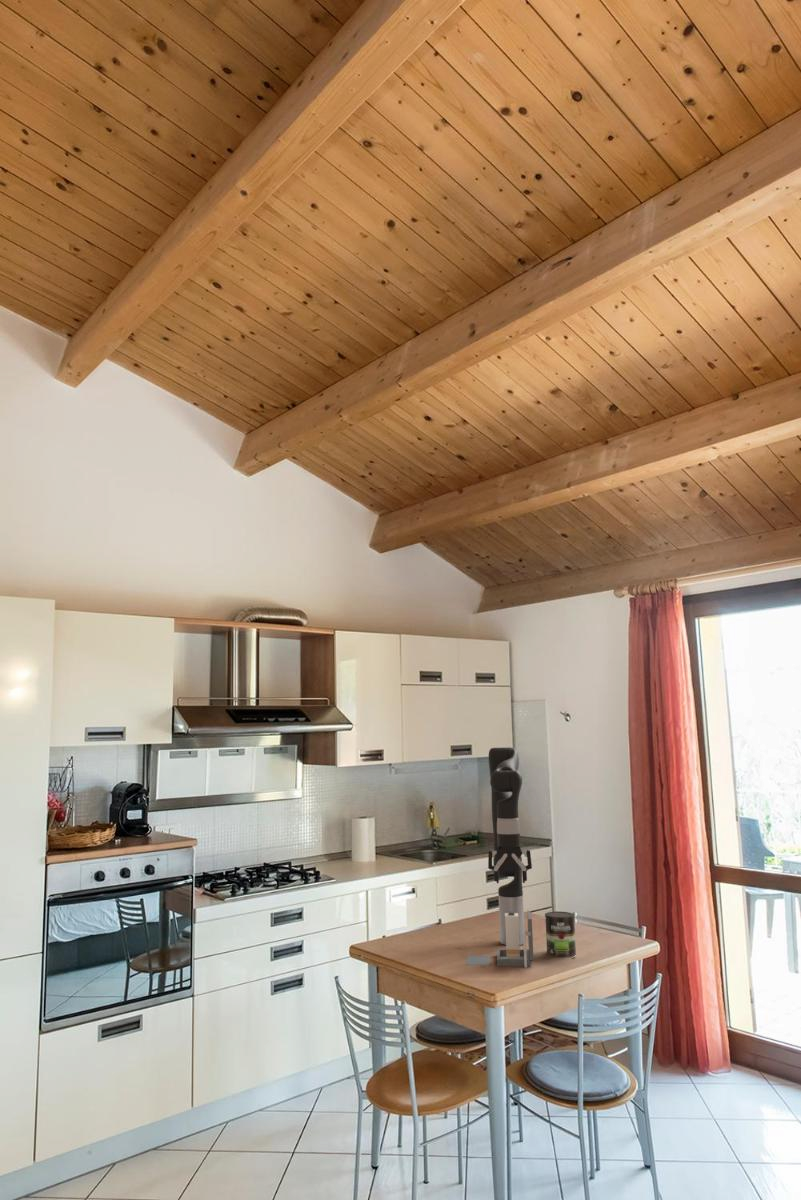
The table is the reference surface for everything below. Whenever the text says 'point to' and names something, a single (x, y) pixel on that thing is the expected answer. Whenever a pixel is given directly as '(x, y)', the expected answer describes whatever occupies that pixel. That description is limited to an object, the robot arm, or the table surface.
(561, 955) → the coffee can
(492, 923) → the table surface
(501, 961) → the grey dispenser stand
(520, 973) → the table surface
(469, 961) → the mat
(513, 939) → the white bottle
